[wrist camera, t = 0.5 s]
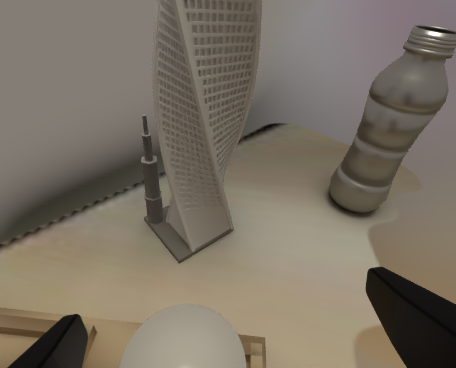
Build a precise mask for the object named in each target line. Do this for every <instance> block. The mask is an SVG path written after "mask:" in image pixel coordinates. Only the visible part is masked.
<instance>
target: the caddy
mask: <svg viewBox="0 0 456 368" xmlns="http://www.w3.org/2000/svg"><path fill="white" fill-rule="evenodd" d="M64 316H67V315H61V314H52V313H43V312H34V311H25V310H16V309H8V308H0V368H7V367H8V366H9V365H11V364H12V363H13V362H14V361H15V360H16V359H17V358H18V357H19V356H20V355H22V354H23V353H24V352H25V351H26V350H27V349H28V348H29V347H30V346H31V345H33V344H34V343H35V342H36V341H37V340H38V339H39V338H40V337H41V336H42V335H44V334H45V333H46V332H47V331H48V330H49V329H50V328H51V327H52V326H53V325H54V324H56V323H57V322H58V321H59V320H60V319H61V318H62V317H64ZM81 318H82V321H83V323H84V325H85V328H86V330H87V333H88V343H87V347H86V352H85V356H84V361H83V366H82V368H119V366H120V363H121V359H122V356H123V353H124V351H125V348H126V346H127V344H128V343H129V341H130V339H131V338H132V336H133V335H134V333H135V332H136V331H137V329H138V328H139V327H140V326H141V325H142V324H140V323H132V322H123V321H114V320H105V319H96V318H87V317H81ZM238 336H239V338H240V340H241V343H242V345H243V349H244V353H245V359H246V368H266V351H265V338H264V337H255V336H247V335H238Z"/></svg>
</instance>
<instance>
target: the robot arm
mask: <svg viewBox="0 0 456 368" xmlns="http://www.w3.org/2000/svg"><path fill="white" fill-rule="evenodd" d="M366 293H367V296H368V298H369V300H370V302H371V304H372V306H373V308H374V310H375V312H376V314H377V316H378V318H379V320H380V322H381V324H382V326H383V328H384V330H385V332H386V333H387V335H388V337H389V339H390V341H391V343H392V344H393V346H394V348H395V350H396V351H397V353H398V354H399V356H400V358H401V359H402V361H403V362H404V364H405V365H406V367H407V368H456V304H454V303H452V302H450V301H448V300H446V299H444V298H442V297H440V296H438V295H436V294H435V293H433V292H431V291H429V290H427V289H425V288H423V287H421V286H419V285H417V284H415V283H413V282H411V281H409V280H407V279H405V278H403V277H401V276H399V275H398V274H395V273H394V272H391V271H390V270H388V269H386V268H384V267H375V268H370V269H369V270H368V273H367V281H366ZM87 343H88V333H87V330H86V328H85V325H84V323H83V321H82V318H81V316H80V315H78V314H73V315H67V316H64V317H62V318H61V319H60V320H59V321H58V322H57V323H56V324H54V325H53V326H52V327H51V328H50V329H49V330H48V331H47V332H46V333H45V334H44V335H42V336H41V337H40V338H39V339H38V340H37V341H36V342H35V343H34V344H33V345H31V346H30V347H29V348H28V349H27V350H26V351H25V352H24V353H23V354H22V355H20V356H19V357H18V358H17V359H16V360H15V361H14V362H13V363H12V364H11V365H9V366H8V367H7V368H82V366H83V361H84V356H85V352H86V347H87Z"/></svg>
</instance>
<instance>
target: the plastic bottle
mask: <svg viewBox="0 0 456 368" xmlns="http://www.w3.org/2000/svg"><path fill="white" fill-rule="evenodd" d="M455 47H456V31H454V30H450V29H445V28H440V27H434V26H426V25H415V26H414V27H413V29H412V31H411V33H410V35H409V38H408V40H407V42H405V44H404V46H403V49H405V50H406V51H405V53H404V54H403V56H401V57H400V58H399V59H397V60H396V61H394V62H393V63H392V64H390V65H389V66H388V67H386V68H385V69H384V70H383V71H382V72H381V73H379V75H378V76H377V77H376V78H375V80H374V81H373V82H372V85H371V88H370V90H369V95H368V98H367V102H366V105H365V109H364V113H363V116H362V119H361V122H360V125H359V127H358V130H357V133H356V136H355V138H354V141H353V143H352V145H351V146H350V148H349V150H348V152H347V154H346V156H345V157H344V159H343V161H342V162H341V163H340V165H339V166H338V167H337V169H336V170H335V172H334V174H333V175H332V177H331V182H330V187H329V190H330V193H331V196H332V198H333V200H334V201H335V202H336V203H337V204H338V205H340V206H341V207H343V208H345V209H347V210H349V211H353V212H357V213H366V212H370V211H373V210H375V209H377V208H378V207H379V206H380V205H381V204H382V203H383V202H384V201H385V200H386V198H387V196H388V193H389V191H390V188H391V184H392V181H393V178H394V176H395V174H396V172H397V170H398V168H399V166H400V164H401V162H402V160H403V158H404V156H405V155H406V153H407V152H408V149H409V148H410V147H411V146H412V145H413V143H414V142H415V140H416V139H417V137H418V135H419V134H420V133H421V132H422V131H423V129H424V128H425V127H426V126H427V125H428V123H429V122H430V121H431V120H432V119H433V117H434V116H435V115H436V114H437V112H438V111H439V110H440V109H441V107H442V106H443V104H444V103H445V102H446V98H447V94H448V83H447V82H448V81H447V75H446V71H445V67H444V63H445V61H446V59H448V58H452V56H453V54H454V49H455Z"/></svg>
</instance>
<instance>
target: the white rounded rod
mask: <svg viewBox="0 0 456 368" xmlns="http://www.w3.org/2000/svg"><path fill="white" fill-rule="evenodd" d="M119 368H246V359H245V353H244V349H243V345H242V343H241V340H240V338H239V336H238V334H237V332H236V331H235V329H234V328H233V326H232V325H231V324H230V323H229V322H228V321H227V320H226V319H225V318H224V317H223V316H222V315H221V314H219V313H217V312H216V311H214V310H212V309H210V308H208V307H205V306H201V305H196V304H180V305H175V306H171V307H168V308H165V309H163V310H161V311H159V312H157V313H156V314H154V315H153V316H151V317H150V318H149V319H147V320H146V321H145V322H144V323H143V324H142V325H141V326H140V327H139V328H138V329H137V331H136V332H135V333H134V335H133V336H132V338H131V339H130V341H129V343H128V344H127V346H126V348H125V351H124V353H123V356H122V359H121V363H120V366H119Z"/></svg>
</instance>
